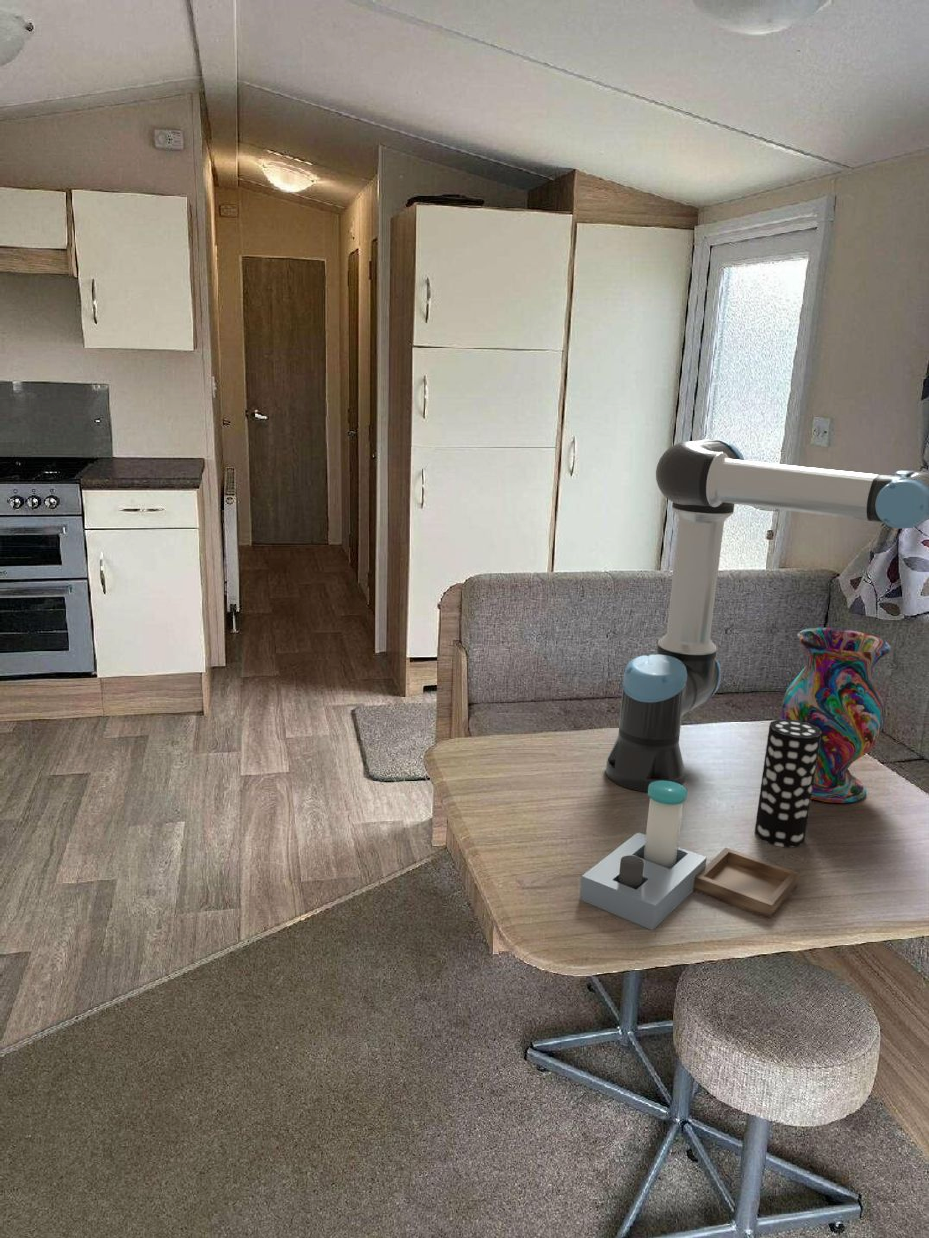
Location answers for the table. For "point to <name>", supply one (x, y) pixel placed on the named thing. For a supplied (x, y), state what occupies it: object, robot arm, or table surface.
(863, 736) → the vase
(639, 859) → the plunger
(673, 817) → the ball
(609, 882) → the housing
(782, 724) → the spotted tube
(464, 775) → the table surface
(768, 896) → the tray
